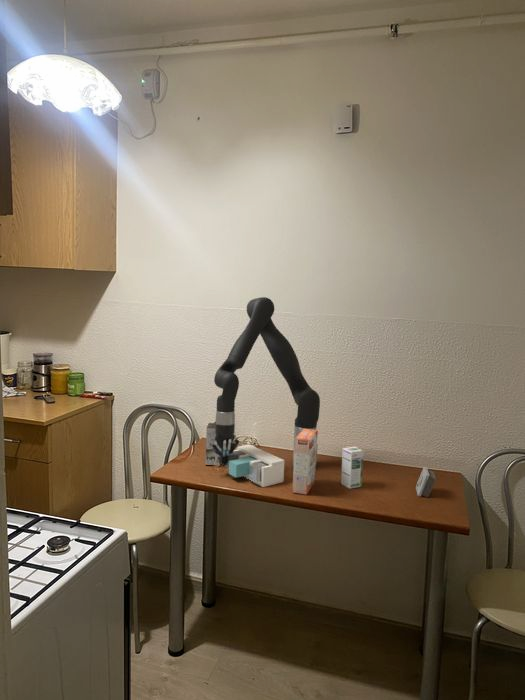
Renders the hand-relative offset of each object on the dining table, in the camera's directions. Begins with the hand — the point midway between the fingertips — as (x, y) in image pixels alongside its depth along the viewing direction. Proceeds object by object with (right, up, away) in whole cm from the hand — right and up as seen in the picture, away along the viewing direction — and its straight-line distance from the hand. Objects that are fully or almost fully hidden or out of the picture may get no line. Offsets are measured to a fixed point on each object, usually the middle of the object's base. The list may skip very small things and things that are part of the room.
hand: (223, 464), depth 204 cm
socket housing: (+12, -4, +1) cm, 13 cm away
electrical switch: (+76, -8, -11) cm, 77 cm away
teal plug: (+8, -3, -3) cm, 9 cm away
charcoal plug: (+6, -2, +5) cm, 8 cm away
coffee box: (-5, -2, +13) cm, 14 cm away
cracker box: (+31, -7, -10) cm, 33 cm away
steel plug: (+15, -3, -6) cm, 17 cm away
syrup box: (+49, -7, -6) cm, 50 cm away
